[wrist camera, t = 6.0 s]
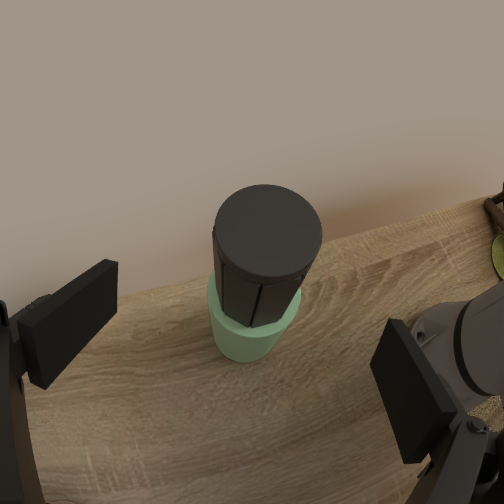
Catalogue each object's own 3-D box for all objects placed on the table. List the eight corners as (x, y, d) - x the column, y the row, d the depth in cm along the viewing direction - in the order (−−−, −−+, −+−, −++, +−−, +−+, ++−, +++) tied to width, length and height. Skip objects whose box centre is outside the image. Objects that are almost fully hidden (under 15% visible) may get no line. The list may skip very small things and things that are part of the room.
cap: (277, 252, 26) (300, 177, 18) (300, 315, 23) (338, 262, 15) (210, 266, 25) (204, 193, 17) (227, 334, 22) (229, 288, 14)
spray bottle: (265, 296, 38) (293, 213, 23) (283, 353, 35) (329, 306, 20) (206, 310, 36) (193, 233, 21) (222, 369, 33) (218, 335, 18)
